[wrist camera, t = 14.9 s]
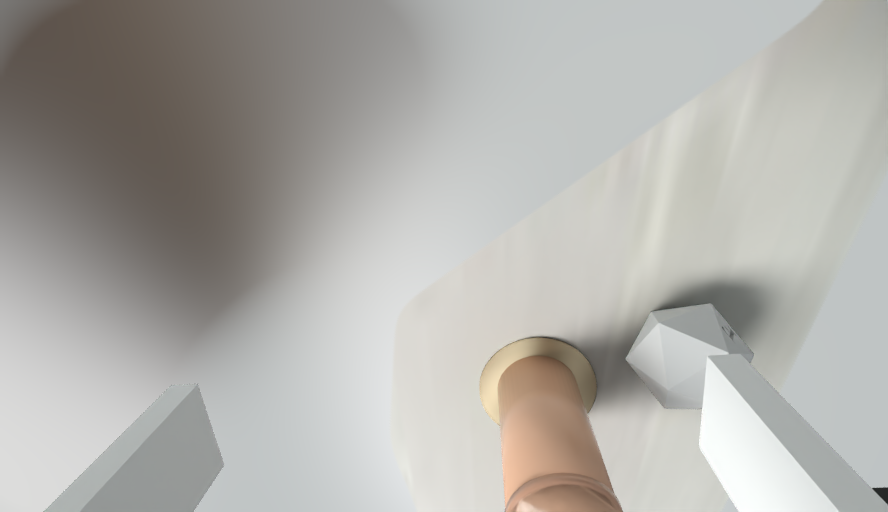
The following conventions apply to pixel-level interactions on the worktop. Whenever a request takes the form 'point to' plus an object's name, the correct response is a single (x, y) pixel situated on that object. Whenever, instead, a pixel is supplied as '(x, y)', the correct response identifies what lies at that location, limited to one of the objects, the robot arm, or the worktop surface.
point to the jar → (549, 442)
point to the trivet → (535, 348)
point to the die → (682, 352)
